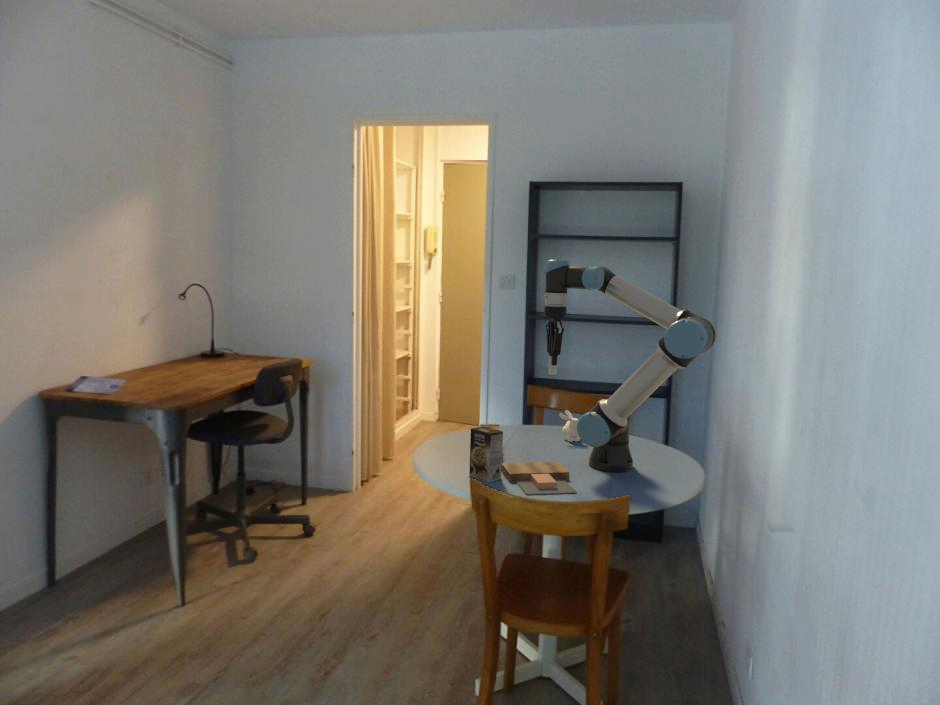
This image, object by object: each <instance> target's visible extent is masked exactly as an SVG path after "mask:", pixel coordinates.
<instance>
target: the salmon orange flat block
mask: <svg viewBox="0 0 940 705" xmlns="http://www.w3.org/2000/svg"><path fill="white" fill-rule="evenodd" d="M531 481H532V482H533V484H534V485H535V486H536V487H537V488H538V489H555V488H557V482H556V481H555V480H554V479H553V478H552V477H551V476H550V474H531Z"/></svg>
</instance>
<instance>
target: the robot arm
mask: <svg viewBox="0 0 940 705" xmlns="http://www.w3.org/2000/svg"><path fill="white" fill-rule="evenodd" d="M569 264H570V263H569V261H568V260H567V259H549V260H547V261H546V264H545V265H546V267H545V282H544V283H545V289H544V290H545V291H544V295H543V299H544V304H545V305H544V308H543V316H544V317H546V318H548V322H547V324H546V323H545V330H546V351H547V353H548V370H547V371H548V372H547V374H548V375H550V376H552V375H554V376H555V375H558V364H559V363H558V362H559V361H558V359H559V355H561V350H562V343H563V334H564V330H565V328H564V327H563V323H562V318H563V319H565V318H566V317H567V305H568V289H576V290H577V289H578V290H588V291H590V290H597V291H599V292H600V293H602V294H605V295H606V296H607V297H610V298H612V299H614V300H615V301H617V302H619V303H621V304H622V305H624V306H626V307H627V308H629V309H631V310H632V311H634V312H636V313H638V314H639V315H640V316H641V315H642V317H644V318H646V319H648V320H649V321H651V322H654V323H656V325H659V326H661V327H662V328H664V329H666V331H665V334H664V335H663V336H662V337H661V338H660V339H659V340H658V341H657V343H656V345H657V346H656V348H657V349H656V350H655V351H654V352H653V353H652V354H651V355H650V356H649V357H648V358H647V359H646V360H645V361H644V362H643V363H642V364H641V365H640V366H639V367H638V368H637V369H636V370H635V371H634V372H633V373H632V374H631V375H630V376H629V377H628V378H627V379H626V380H625V382H623V383H622V384H621V385H620V386H619V387H618V389H617V390H616V391H615V392H614V393H613V394H611V395H610V396H609V397H608V398H607V399H606V398H602V399H600V400H597V401H596V402H597V403H596V404H595V405H594V406H592V408H591V409H590V410H589V411H588V412H585V413H584V414H582V415H581V416H580V417H579V418H578V419H579V420H578V423H577V433H578V436H579V438H580V441H581V442H583V443H584V444H585V445H586V446H588V447H591V448H592V450H591V453H590V456H589V459H588V465H589V466H590V467H591V468H592V469H596V470H599V471H603V472H604V471H605V472H611V473H612V472H614V473H617V472H618V473H620V472H623V473H624V472H628V471H631V470H632V469H633V468H634V461H633V457H632V453H631V450H630V445H629V444H630V429H631V428H630V427H631V415H632V413H634V412H635V411H636V410H637V409H638V408H639V407H640V406H642V404H643V403H644V402H645V401H646V400H647V399H648V398H650V396H651V395H652V394H654V393H655V391H657V389H658V388H659V387H660V386H661V385H662V384H664V383H665V381H667V379H669V378H670V377H671V376H672V375H673V374H674V373H675V372H676V371H677V370H678V369H686V368H687V367H688V366H689V365H690V364H691V363H692V362H693V361H695V360H696V359H697V357H699V356H700V355H701V354H702V353H705V352H707V351H708V350H710V349H711V348H712V347H713V345H714V344H715V342H716V337H717V333H716V328H715V327H714V325H713V324H712V322H710V321H709V320H708V319H707V318H704V317H703V316H700V315H699V314H696V313H693V312H692V311H690V310H688V309H682V310H681V309H680V308H677V307H676V306H674V305H673V304H670V303H669V302H667V301H665V300H664V299H661V298H660V297H658V296H656V295H653V294H652V293H650V292H649V291H647V290H645V289H643V288H642V287H639V286H637V285H636V284H633V283H632V282H630V281H629V280H626V279H625V278H623V277H621V276H619V275H618V274H615V273H614V272H613V270H611V269H610V268H609V267H606V266H600V265H599V266H594V265H590V266H587V265H585V266H581V265H579V266H577V265H576V266H575V265H569Z"/></svg>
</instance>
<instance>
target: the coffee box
mask: <svg viewBox="0 0 940 705" xmlns="http://www.w3.org/2000/svg"><path fill="white" fill-rule="evenodd" d="M503 437H504V431H503V430H500V431H499V430H496V429H492V428H488V427H484V426H483V427H480V426H477V427H472V428H470V444H469V448H470V450H469V472H468V473H469V474H468V475H469V477H471V478H474V479H477V480H480V481H483V482H486V483H492V482H495V481H499V480H501V479H502V471H501V464H502V463H503V461H502V460H503V459H502V458H503V444H504V443H503V440H504V438H503Z"/></svg>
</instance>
